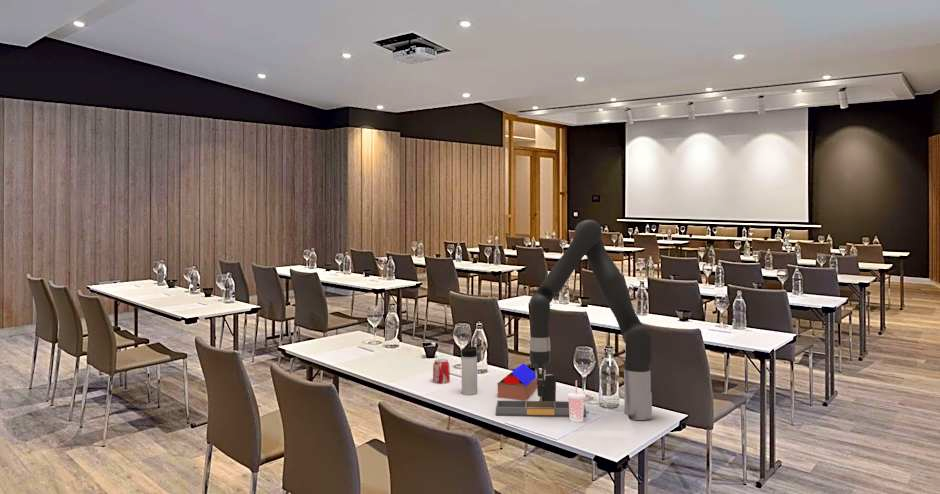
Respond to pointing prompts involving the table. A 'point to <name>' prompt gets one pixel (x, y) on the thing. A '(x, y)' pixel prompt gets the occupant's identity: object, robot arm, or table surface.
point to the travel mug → (469, 371)
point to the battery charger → (549, 388)
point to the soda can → (441, 371)
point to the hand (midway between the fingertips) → (540, 393)
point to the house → (518, 384)
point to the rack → (534, 408)
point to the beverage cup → (576, 406)
